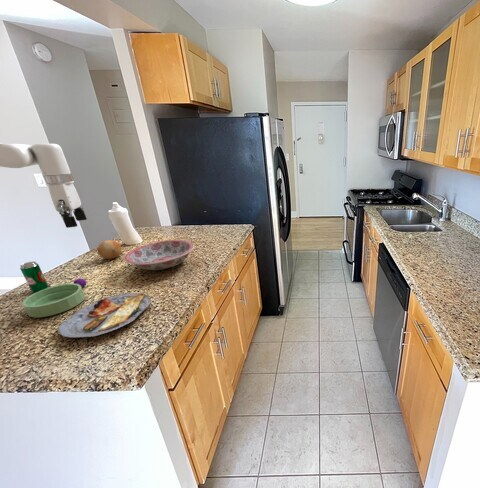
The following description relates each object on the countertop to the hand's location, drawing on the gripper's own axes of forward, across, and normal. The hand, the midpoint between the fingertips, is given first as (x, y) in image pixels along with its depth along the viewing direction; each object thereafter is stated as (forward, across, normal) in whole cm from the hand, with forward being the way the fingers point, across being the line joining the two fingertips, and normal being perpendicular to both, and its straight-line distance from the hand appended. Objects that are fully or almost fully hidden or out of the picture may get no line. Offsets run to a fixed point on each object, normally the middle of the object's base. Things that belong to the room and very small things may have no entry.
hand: (77, 223), depth 102 cm
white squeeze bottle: (+28, -51, +1) cm, 58 cm away
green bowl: (+27, +14, -10) cm, 32 cm away
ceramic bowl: (+28, -8, +23) cm, 37 cm away
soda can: (+27, -4, -22) cm, 35 cm away
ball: (+25, +1, -6) cm, 26 cm away
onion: (+28, -29, -3) cm, 40 cm away
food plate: (+28, +31, +10) cm, 43 cm away
